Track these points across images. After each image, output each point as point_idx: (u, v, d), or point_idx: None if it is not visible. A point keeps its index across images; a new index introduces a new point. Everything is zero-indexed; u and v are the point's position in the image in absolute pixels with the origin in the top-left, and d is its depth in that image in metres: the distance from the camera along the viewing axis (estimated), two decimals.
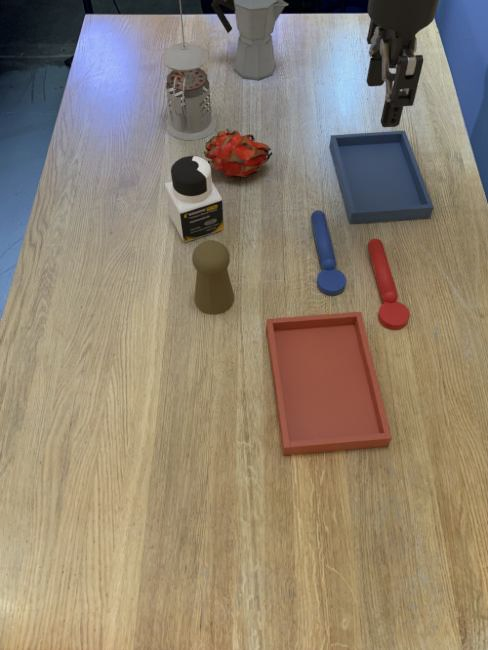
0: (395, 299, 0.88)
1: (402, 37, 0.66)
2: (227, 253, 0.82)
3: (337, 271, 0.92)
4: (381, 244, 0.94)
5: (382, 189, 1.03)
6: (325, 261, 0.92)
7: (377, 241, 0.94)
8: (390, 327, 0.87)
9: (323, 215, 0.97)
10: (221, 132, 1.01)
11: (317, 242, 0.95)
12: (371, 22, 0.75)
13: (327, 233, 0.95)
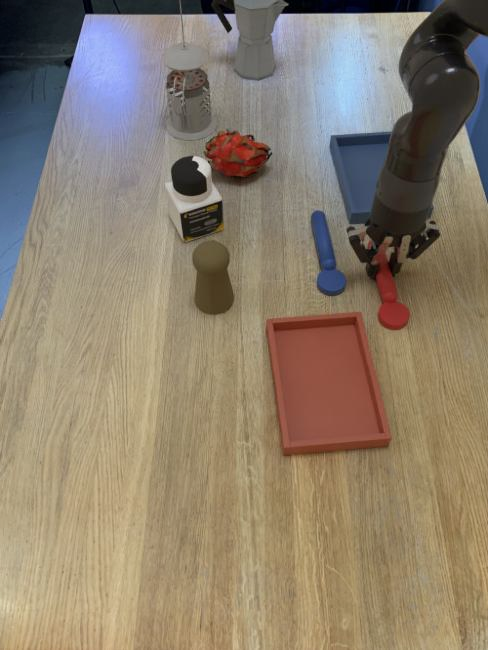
0: (395, 299, 0.88)
1: (370, 216, 0.83)
2: (227, 253, 0.82)
3: (337, 271, 0.92)
4: None
5: None
6: (325, 261, 0.92)
7: None
8: (390, 327, 0.87)
9: (323, 215, 0.97)
10: (221, 132, 1.01)
11: (317, 242, 0.95)
12: None
13: (327, 233, 0.95)
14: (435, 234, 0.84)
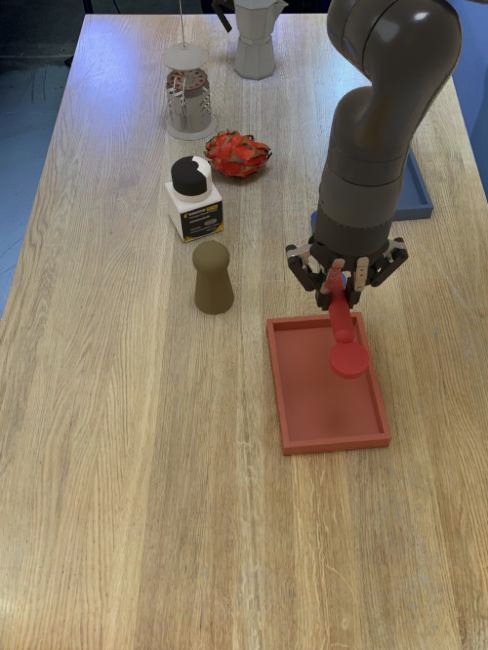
0: (351, 339, 0.68)
1: (314, 232, 0.62)
2: (227, 253, 0.82)
3: None
4: None
5: None
6: None
7: None
8: (343, 376, 0.66)
9: None
10: (221, 132, 1.01)
11: None
12: None
13: None
14: (402, 255, 0.64)
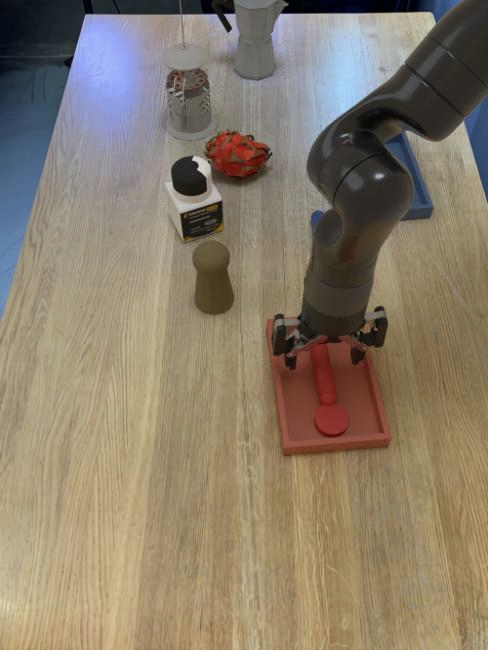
0: (333, 402, 0.78)
1: (300, 313, 0.72)
2: (227, 253, 0.82)
3: None
4: None
5: None
6: None
7: None
8: (327, 435, 0.77)
9: None
10: (221, 132, 1.01)
11: None
12: None
13: None
14: (381, 323, 0.73)
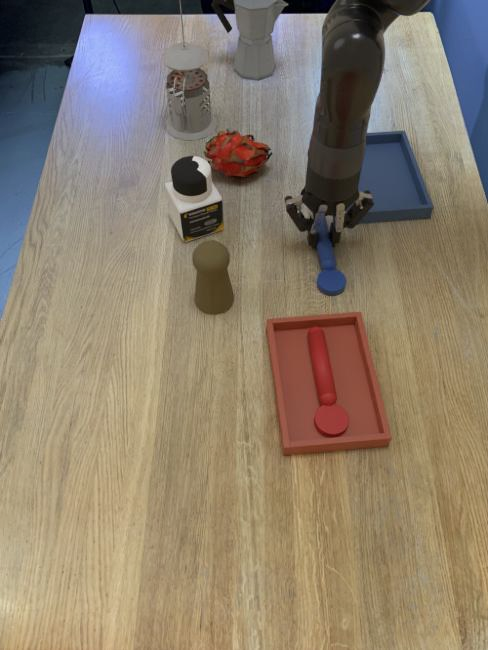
0: (333, 402, 0.78)
1: (305, 185, 0.86)
2: (227, 253, 0.82)
3: (337, 271, 0.92)
4: (322, 334, 0.84)
5: (382, 189, 1.03)
6: (325, 261, 0.92)
7: (317, 330, 0.84)
8: (327, 435, 0.77)
9: None
10: (221, 132, 1.01)
11: None
12: None
13: (327, 233, 0.95)
14: (369, 203, 0.88)
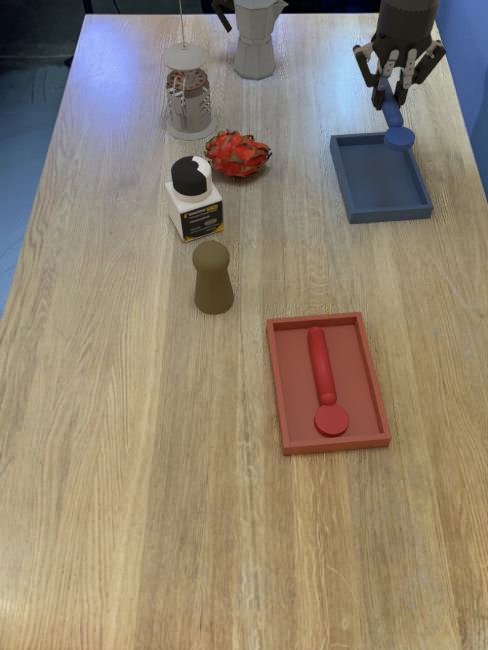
0: (333, 402, 0.78)
1: (376, 30, 0.83)
2: (227, 253, 0.82)
3: (405, 128, 0.89)
4: (322, 334, 0.84)
5: (382, 189, 1.03)
6: (393, 118, 0.89)
7: (317, 330, 0.84)
8: (327, 435, 0.77)
9: None
10: (221, 132, 1.01)
11: None
12: None
13: (392, 94, 0.92)
14: (441, 51, 0.85)
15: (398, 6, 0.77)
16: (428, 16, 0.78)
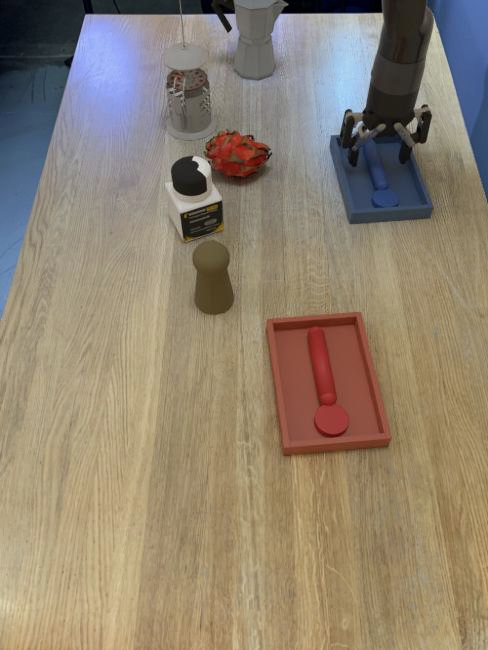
0: (333, 402, 0.78)
1: None
2: (227, 253, 0.82)
3: (390, 191, 1.01)
4: (322, 334, 0.84)
5: None
6: (379, 181, 1.01)
7: (317, 330, 0.84)
8: (327, 435, 0.77)
9: (374, 143, 1.06)
10: (221, 132, 1.01)
11: (370, 166, 1.04)
12: None
13: (379, 158, 1.04)
14: (426, 115, 0.95)
15: (384, 91, 0.89)
16: (410, 98, 0.90)
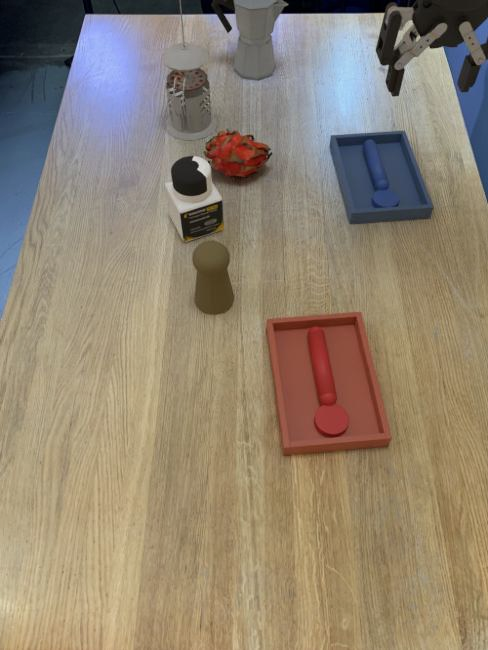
0: (333, 402, 0.78)
1: None
2: (227, 253, 0.82)
3: (390, 191, 1.01)
4: (322, 334, 0.84)
5: None
6: (379, 181, 1.01)
7: (317, 330, 0.84)
8: (327, 435, 0.77)
9: (374, 143, 1.06)
10: (221, 132, 1.01)
11: (370, 166, 1.04)
12: None
13: (379, 158, 1.04)
14: None
15: None
16: None
